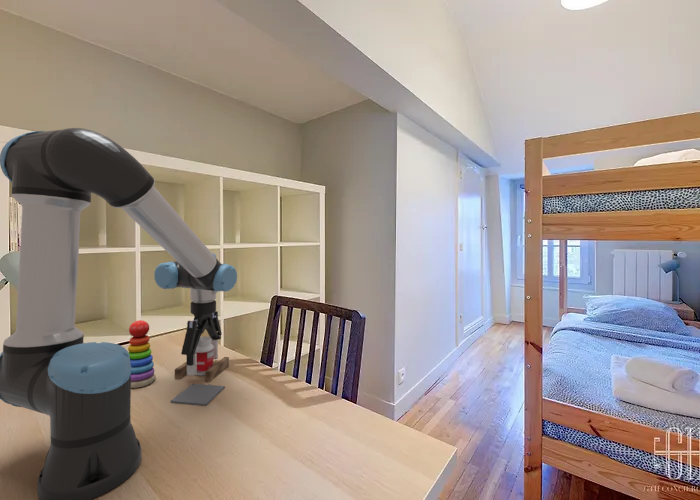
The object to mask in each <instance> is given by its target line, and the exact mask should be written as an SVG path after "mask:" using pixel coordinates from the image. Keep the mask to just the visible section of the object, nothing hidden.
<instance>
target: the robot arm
mask: <svg viewBox="0 0 700 500" xmlns="http://www.w3.org/2000/svg"><path fill="white" fill-rule="evenodd" d="M0 169H1V172H2V173H3V175H4V176H5V177H6V178H7V179H8V180H9V182H10V183H11V197H12V198H13V199H14V200H15V201H16V202H17V203H19V204H20V206H21V207H22V210H21V211H22V212H21V227H20V247H19V264H18V281H17V282H18V284H17V302H16V303H17V304H16V316H15V317H16V321H15V331H14V332H13V333H12V334H10V336H8V337H7V338H5V339H4V340H3V345H2V352H0V400H1V401H2V402H4V403H6V404H8V405H11V406H14V407H18V408H24V409H28V410H30V411H34V412H37V413H39V414H43V415H47V416H49V419H50V420H49V421H50V423H49V424H50V429H49V430H50V432H49V434H50V446H49V449H48V450H47V451H48V452H47V454H46V457H45V460H44V464H43V468H42V469H41V470H40V472H39V475H38V478H37V498H38V499H39V500H93V499H94V498H97V497H100V496H102V495H104V494H106V493H108V492H109V491H112V490H113V489H115V488H117V487H118V486H120V485H121V484H122V483H124V482H125V481H126V480H127V479H129V478H130V477H131V476H132V475H133V474H134V473H135V472H136V470H138V468H139V466H140V464H141V463H142V444H141V442H140V440H139V439H138V438H137V435H136V432H135V429H134V427H133V424H132V422H131V421H132V420H131V403H132V401H131V397H132V396H131V394H132V393H131V391H132V388H131V370H132V368H131V364H130V356H129V353H128V352H129V350H127V349H126V347H123V346H122V345H120V344H117V343H114V342H108V341H107V342H106V341H103V342H102V341H101V342H97V341H92V342H84V339H85V338H84V337H85V336H84V334H85V333H84V332H83V330H81V329H80V328H78V327H77V326H76V309H77V307H76V306H77V290H78V289H77V287H78V270H79V254H80V252H79V250H80V231H81V215H82V214H81V213H82V211H83V210H85V209H87V208H88V207H89V206H91V203H92V194H94V195H96V196H98V197H100V198H101V199H103V200H104V201H105V202H106V203H108V204H109V205H110V206H111V207H112V208H115V209H122V211H124V212H125V214H127V215H128V216H129V217H130V218H131V219H132V220H133V221H134V222H135V223H136V224H137V225H139V226H140V227H141V228H142V229H143V230H144V231H145V232H146V233H147V234H148V235H149V236H150V238H152V239H153V240H154V241H155V242H156V243H157V244H159V246H161V248H163V250H164V251H166V252H167V254H169V255H170V256H171V257H172V258H173V259H174V260H175V261H171V260H169V261H167V262H162V263H159V264H158V265H157V266H156V267H155V269H154V273H153V275H154V281H155V283H156V285H157V286H158V287H159V288H160V289H163V290H167V289H168V290H170V289H171V290H173V289H175V288H180V289H181V288H182V289H190V314H192V316H194V317H193V320H188V321H187V323H186V332H185V336H184V340H183V344H182V348H181V353H180V354H181V355H182V356H183V355H185V356H186V362H187V374H186V375H187V376H197V375H196V374H197V354H195V351H196V348H197V345H198V343H199V340H200V337H202V334H204V332H205V331H206V332H207V334H208V337H211V343H210V344H212V345H213V347H214V355H213V360H218V357H219V354H218V353H219V348H218V347H219V340H221V339H222V334H223V333H222V329H221V325H220V321H219V313H218V311H217V301H216V299H217V294H218V292H228V291H231V290H233V289H234V287H235V284H237V281H238V273H237V269H236V268H235V267H234V266H233V265H231V264H227V263H221V262H220V261H219V259H217V255H216V253H214V252H212V251H210V249H209V248H208V247H207V246H206V244H205V243H204V242H203V241H202V240H201V239H200V237H198V235H197V234H196V233H195V232H194V230H192V228H190V226H189V225H188V224H187V223H186V221H184V219H183V218H182V217H181V216H180V214H178V212H177V211H176V210H175V209H174V208H173V207H172V206H171V204H170V203H169V202H168V201H167V200H166V199H165V198H164V197H163V195H162V194H161V193H160V191H159V190H158V189H157V188H156V186H155V184H156V180H155V178H154V177H153V176H152V175H151V173H149V171H148V170H147V169H146V168H145V167H144V166H143V164H142V163H141V162H139V161H138V159H136V158H135V157H134V156H133V155H132V154H131V153H130V152H128V151H127V149H125V148H124V147H122V145H120V144H119V143H117V142H115V140H113V139H111V138H110V137H108V136H105V135H103V134H102V133H99V132H97V131H94V130H91V129H87V128H82V127H70V128H68V127H67V128H63V129H56V130H54V129H53V130H36V131H30V132H29V131H28V132H25V133H22V134H21V135H18V136H15V137H13V138H11V139H10V140H9V141H7V142H6V144H4V145H3V147H2V148H1V151H0Z"/></svg>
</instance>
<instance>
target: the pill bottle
mask: <svg viewBox="0 0 700 500" xmlns="http://www.w3.org/2000/svg"><path fill="white" fill-rule="evenodd" d="M211 340H212V339H211V337H210V336H206V335H205V336H201V337H200V340H199V343H198V345H197V348H196V351H195V354H197V374H196V375H195V376H200V377H201V376H205V372H206V371H207V370H208V369H210V368H211V367H212V366H213V365H214V359H213V355H214V347H213V345H212V344H210V343H211Z"/></svg>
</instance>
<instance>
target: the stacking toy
mask: <svg viewBox="0 0 700 500" xmlns="http://www.w3.org/2000/svg"><path fill="white" fill-rule="evenodd" d="M128 331H129V334H130V335H131V337H130V339H129V340H128V341H129V346H128V347H127V349H128V350H127V351H128V353H129V356H130V364H131V368H132V370H131V389H136V388H142V387H146V386H148V385H150V384H152V383H153V382H154V381H155V380H156V378H157V377H156V373H155V368H154V365H155V362H154V361H153V359H154V358H153V355H152V349H151V348H150V347H151V344H150V343H149V342H150V336H149V335H147V334H148V333H149V331H150V324H149V323H148V322H147V321H145V320H140V319H139V320H135V321H134V322H132V323H131V324H130V326H129V328H128Z"/></svg>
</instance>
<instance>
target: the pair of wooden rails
mask: <svg viewBox="0 0 700 500" xmlns="http://www.w3.org/2000/svg"><path fill="white" fill-rule="evenodd" d="M229 360H230V356H229V357H228V356H224V357H222V358H221V359H219V361H217V362H216V363H214V364H213V366H212V367H211V368H210V369H208V370H207V371H206V372H205V375H204V377H205V382H209V383H210V382H211V381H213V380H214V379H215V378H216V377H217V376H219V374H220V373H222V372H223V371H224V370H226V369H227V368H229V365H230V361H229ZM186 375H187V361H185V362H184V363H182V364H181V365H179V366H178V367H176V368H174V380H180V379H182V378H183V377H185V376H186Z"/></svg>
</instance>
